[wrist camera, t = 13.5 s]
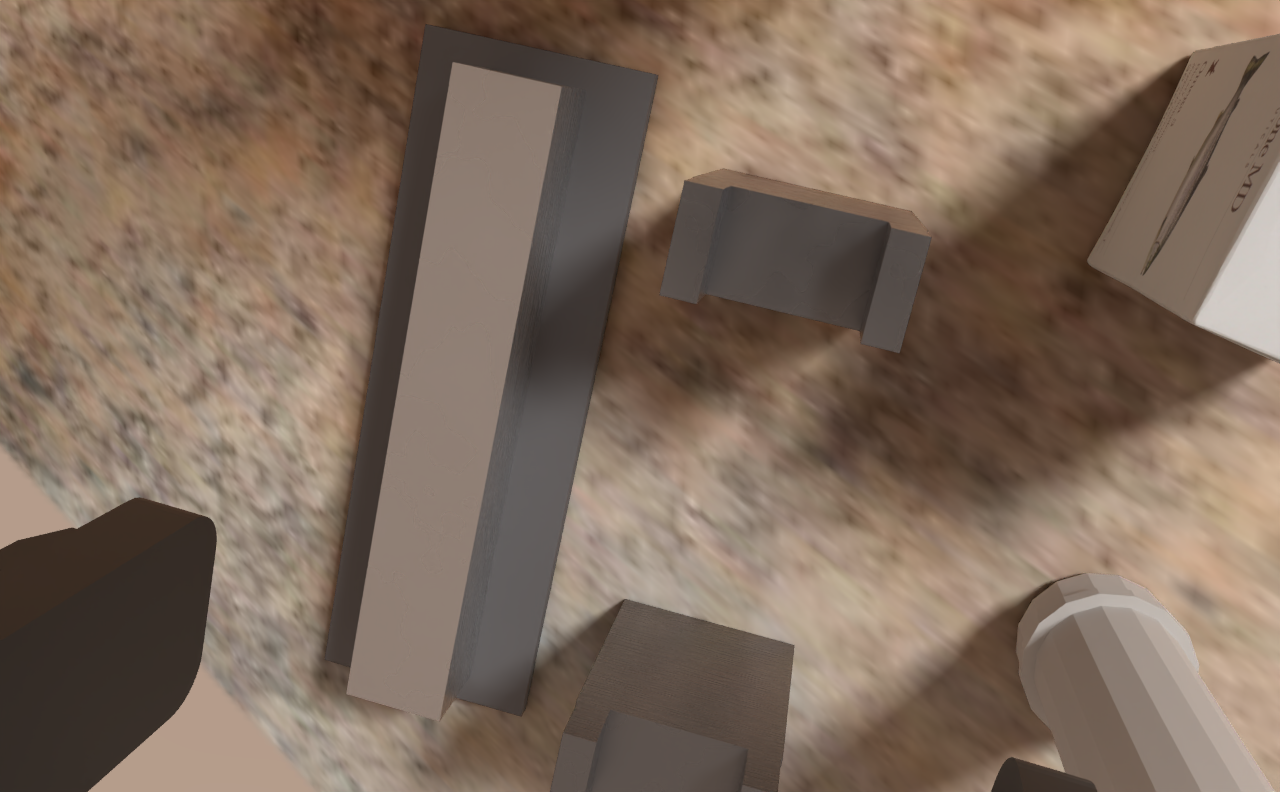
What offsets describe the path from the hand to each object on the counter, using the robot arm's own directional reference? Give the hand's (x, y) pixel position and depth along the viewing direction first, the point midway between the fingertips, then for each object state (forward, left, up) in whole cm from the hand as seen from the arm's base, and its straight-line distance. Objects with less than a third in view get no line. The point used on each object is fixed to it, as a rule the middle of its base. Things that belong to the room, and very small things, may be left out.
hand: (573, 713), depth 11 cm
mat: (+6, -9, -30) cm, 32 cm away
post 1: (+14, +1, -30) cm, 33 cm away
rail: (+6, -9, -29) cm, 31 cm away
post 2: (-2, +1, -30) cm, 30 cm away
